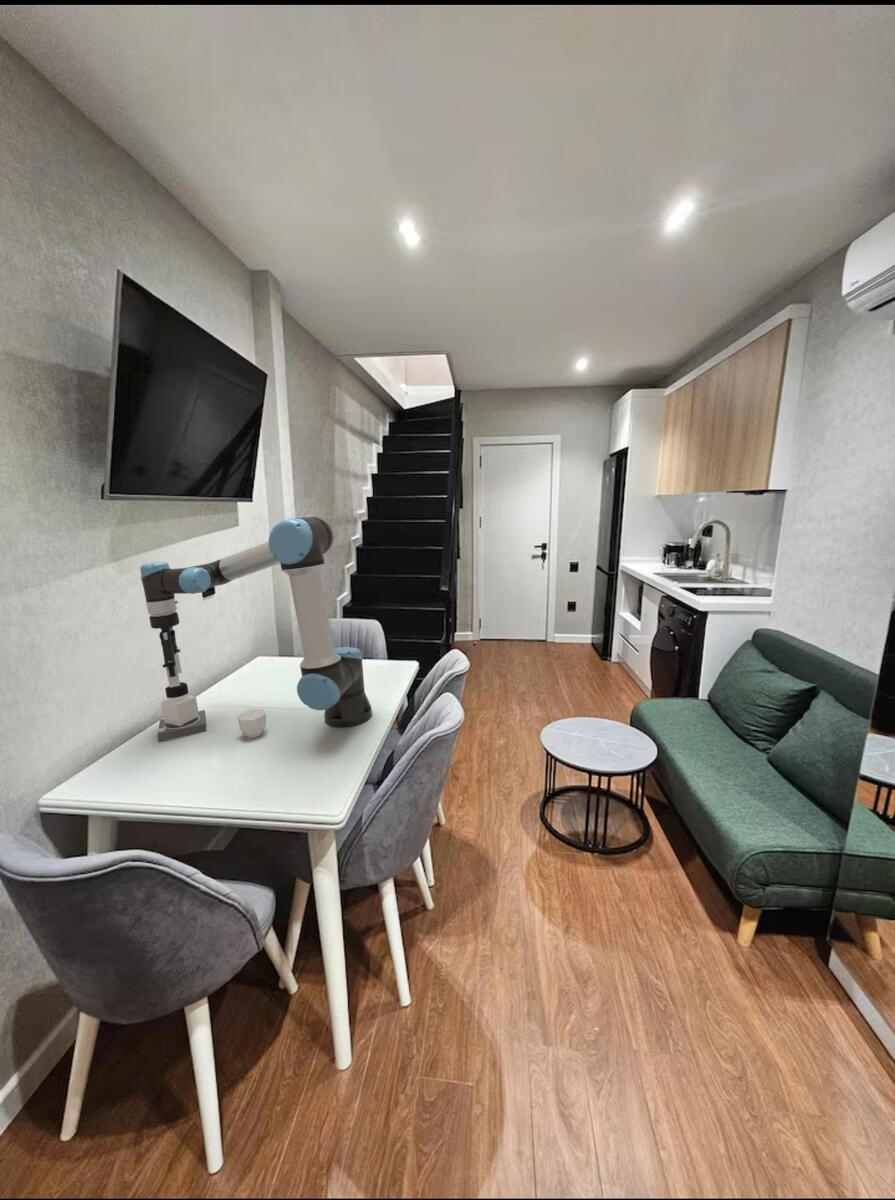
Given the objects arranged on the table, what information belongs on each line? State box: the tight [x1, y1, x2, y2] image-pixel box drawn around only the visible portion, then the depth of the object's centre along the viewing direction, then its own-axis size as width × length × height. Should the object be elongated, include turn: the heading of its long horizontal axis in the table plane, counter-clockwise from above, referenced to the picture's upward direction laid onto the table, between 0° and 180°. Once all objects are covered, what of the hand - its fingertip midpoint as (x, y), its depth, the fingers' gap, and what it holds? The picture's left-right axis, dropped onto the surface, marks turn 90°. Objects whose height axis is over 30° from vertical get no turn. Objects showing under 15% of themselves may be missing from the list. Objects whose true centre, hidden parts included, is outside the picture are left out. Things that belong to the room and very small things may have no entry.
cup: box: [237, 708, 267, 739], centre depth 145 cm, size 8×10×7 cm
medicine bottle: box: [160, 681, 199, 726], centre depth 149 cm, size 7×7×12 cm
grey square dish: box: [156, 709, 207, 743], centre depth 151 cm, size 12×13×3 cm
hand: (176, 679), depth 148 cm, fingers open, 13 cm apart
